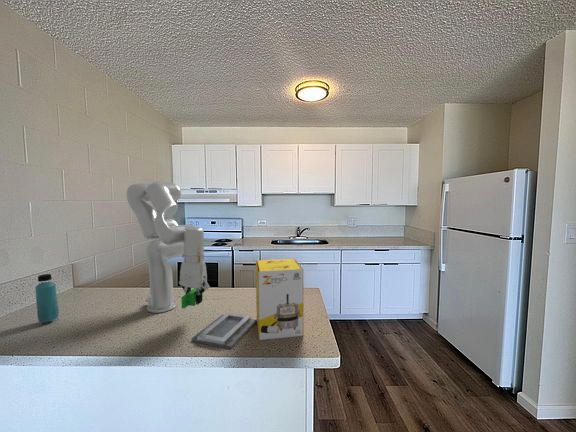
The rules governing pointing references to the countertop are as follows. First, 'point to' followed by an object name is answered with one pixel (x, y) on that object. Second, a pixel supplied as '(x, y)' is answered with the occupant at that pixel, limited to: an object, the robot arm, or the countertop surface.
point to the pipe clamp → (189, 298)
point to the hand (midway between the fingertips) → (194, 301)
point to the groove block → (225, 330)
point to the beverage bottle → (46, 299)
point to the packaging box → (279, 298)
